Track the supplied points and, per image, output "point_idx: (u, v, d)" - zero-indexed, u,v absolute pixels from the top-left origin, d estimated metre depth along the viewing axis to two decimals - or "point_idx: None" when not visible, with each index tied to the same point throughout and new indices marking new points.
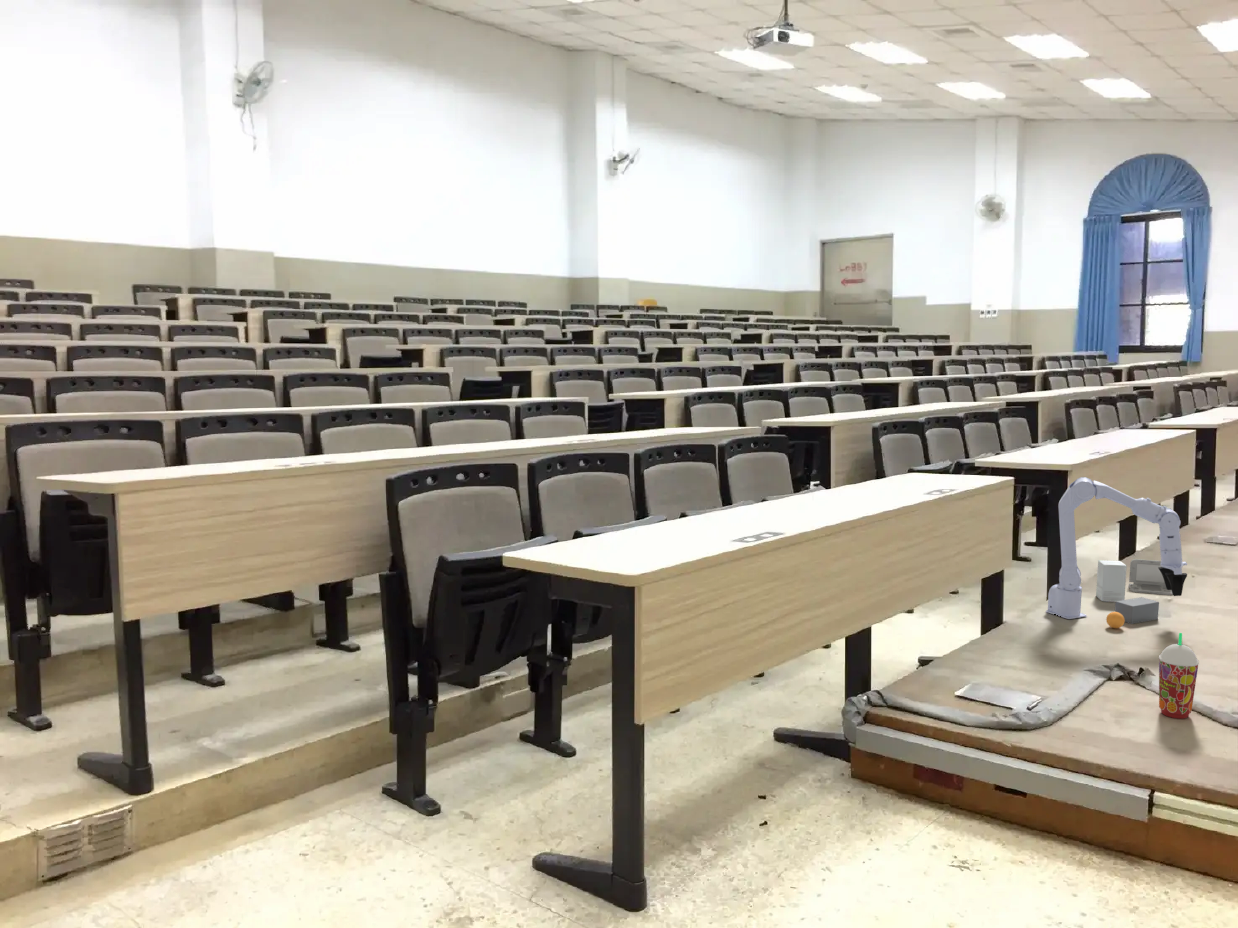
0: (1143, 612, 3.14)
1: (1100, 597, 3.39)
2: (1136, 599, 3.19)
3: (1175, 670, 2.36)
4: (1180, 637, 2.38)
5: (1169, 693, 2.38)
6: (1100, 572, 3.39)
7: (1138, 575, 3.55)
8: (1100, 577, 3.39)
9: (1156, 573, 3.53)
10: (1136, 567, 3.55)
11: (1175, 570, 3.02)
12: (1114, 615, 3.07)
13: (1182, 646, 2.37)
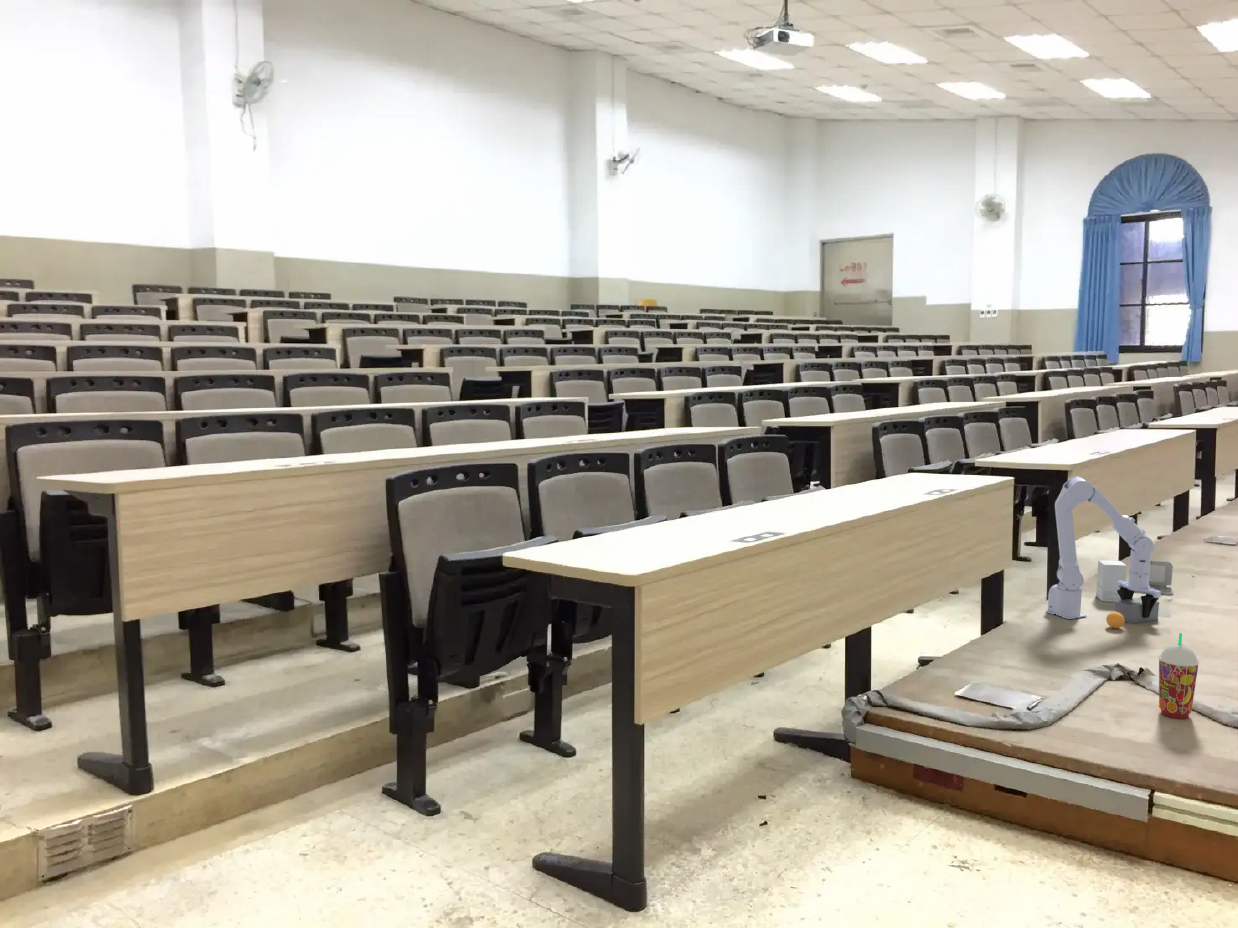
0: None
1: (1100, 597, 3.39)
2: (1136, 599, 3.19)
3: (1175, 670, 2.36)
4: (1180, 637, 2.38)
5: (1169, 693, 2.38)
6: (1100, 572, 3.39)
7: None
8: (1100, 577, 3.39)
9: (1156, 573, 3.53)
10: None
11: (1157, 593, 3.09)
12: (1114, 615, 3.07)
13: (1182, 646, 2.37)
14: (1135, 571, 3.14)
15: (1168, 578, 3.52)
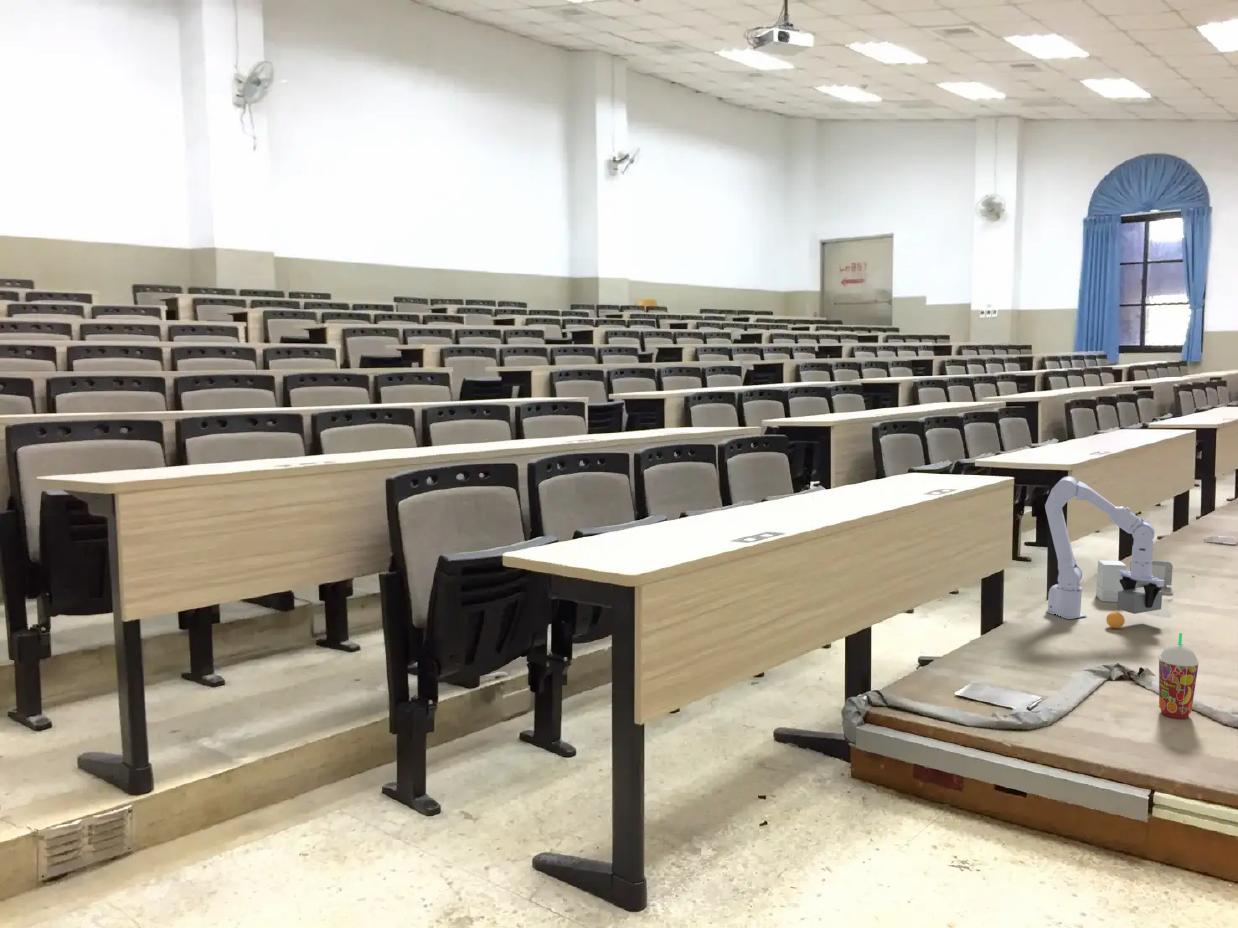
0: None
1: (1100, 597, 3.39)
2: (1139, 589, 3.13)
3: (1175, 670, 2.36)
4: (1180, 637, 2.38)
5: (1169, 693, 2.38)
6: (1100, 572, 3.39)
7: None
8: (1100, 577, 3.39)
9: (1156, 573, 3.53)
10: None
11: (1160, 582, 3.03)
12: (1114, 615, 3.07)
13: (1182, 646, 2.37)
14: (1135, 559, 3.08)
15: (1168, 578, 3.52)
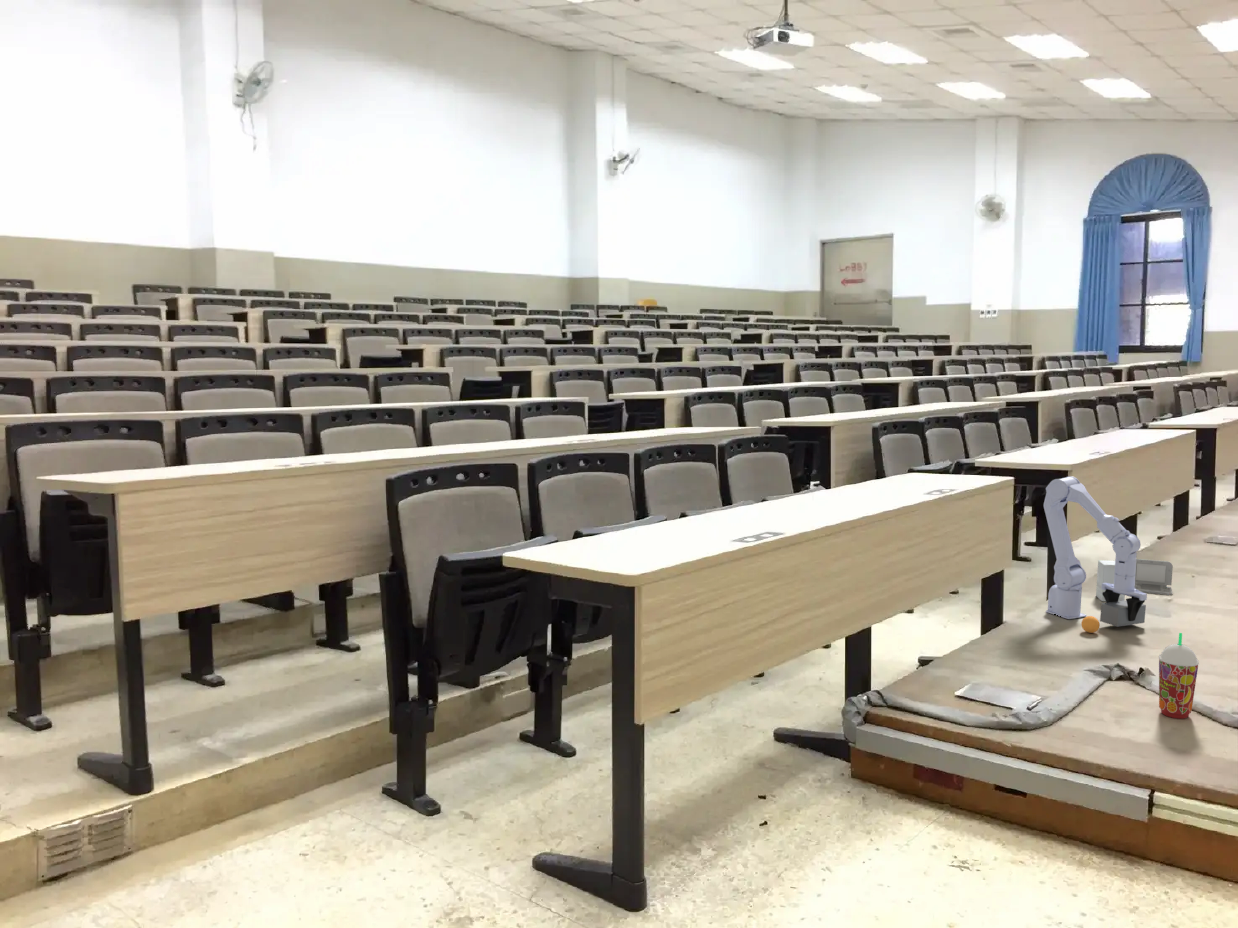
0: None
1: (1100, 597, 3.39)
2: (1122, 602, 3.11)
3: (1175, 670, 2.36)
4: (1180, 637, 2.38)
5: (1169, 693, 2.38)
6: (1100, 572, 3.39)
7: (1138, 575, 3.56)
8: (1100, 577, 3.39)
9: (1156, 573, 3.53)
10: (1136, 566, 3.55)
11: (1142, 596, 3.01)
12: None
13: (1182, 646, 2.37)
14: (1116, 572, 3.07)
15: (1168, 578, 3.52)
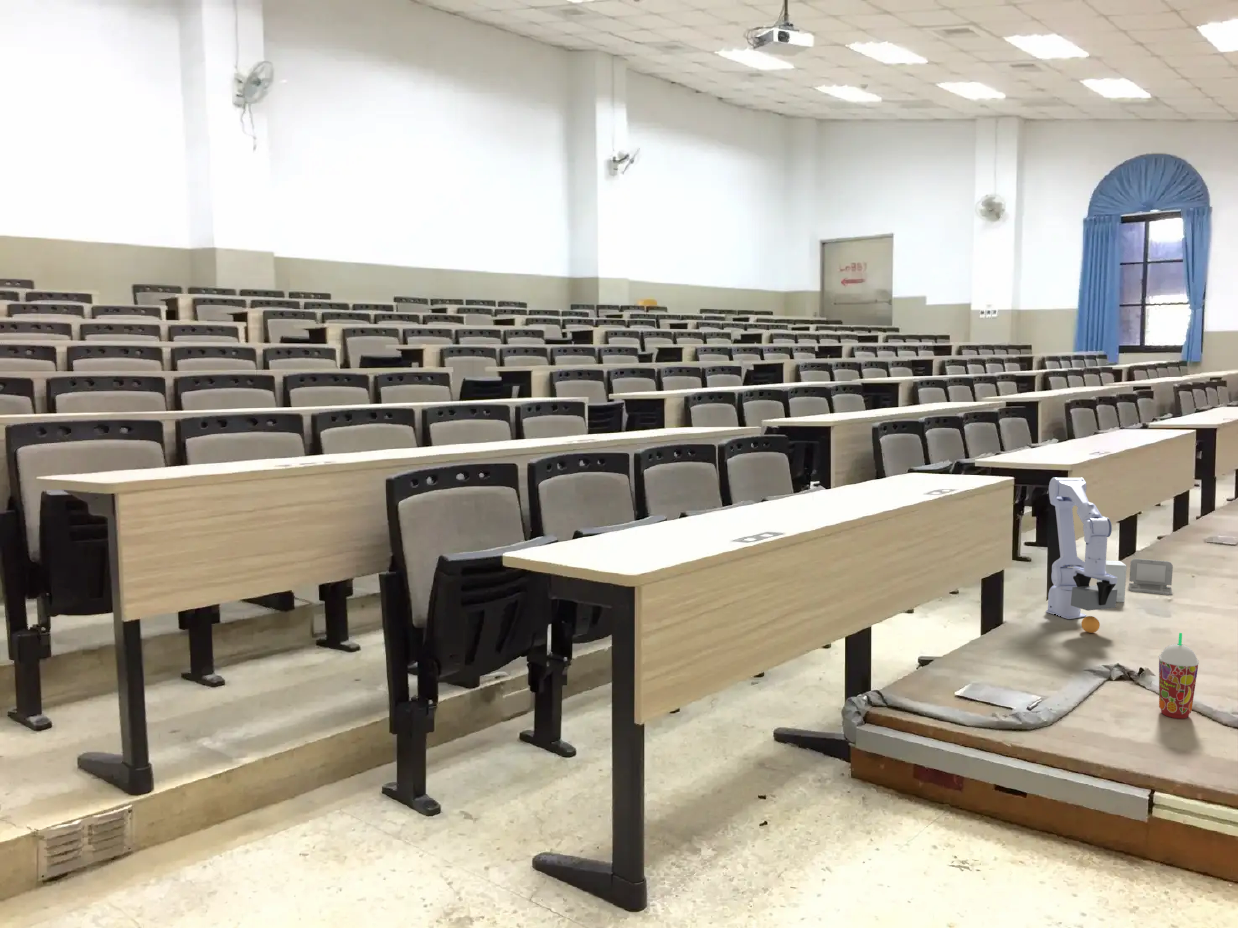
0: None
1: None
2: (1094, 586, 3.05)
3: (1175, 670, 2.36)
4: (1180, 637, 2.38)
5: (1169, 693, 2.38)
6: None
7: (1138, 574, 3.56)
8: None
9: (1156, 573, 3.53)
10: (1136, 566, 3.56)
11: (1113, 579, 2.95)
12: None
13: (1182, 646, 2.37)
14: None
15: (1168, 578, 3.52)
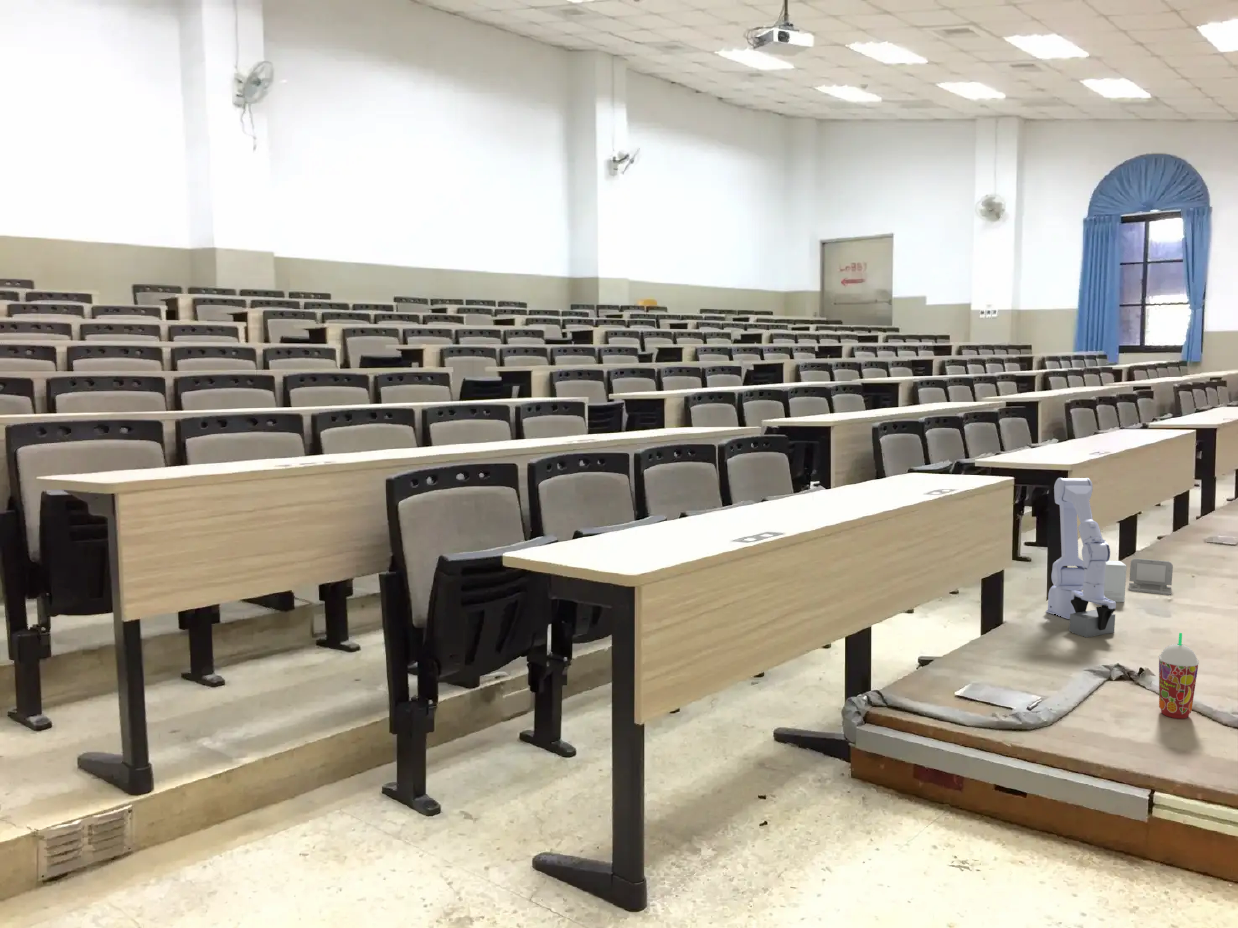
0: None
1: None
2: (1092, 611, 3.06)
3: (1175, 670, 2.36)
4: (1180, 637, 2.38)
5: (1169, 693, 2.38)
6: None
7: (1138, 574, 3.56)
8: None
9: (1156, 573, 3.53)
10: (1136, 566, 3.56)
11: (1111, 604, 2.96)
12: None
13: (1182, 646, 2.37)
14: None
15: (1168, 578, 3.52)
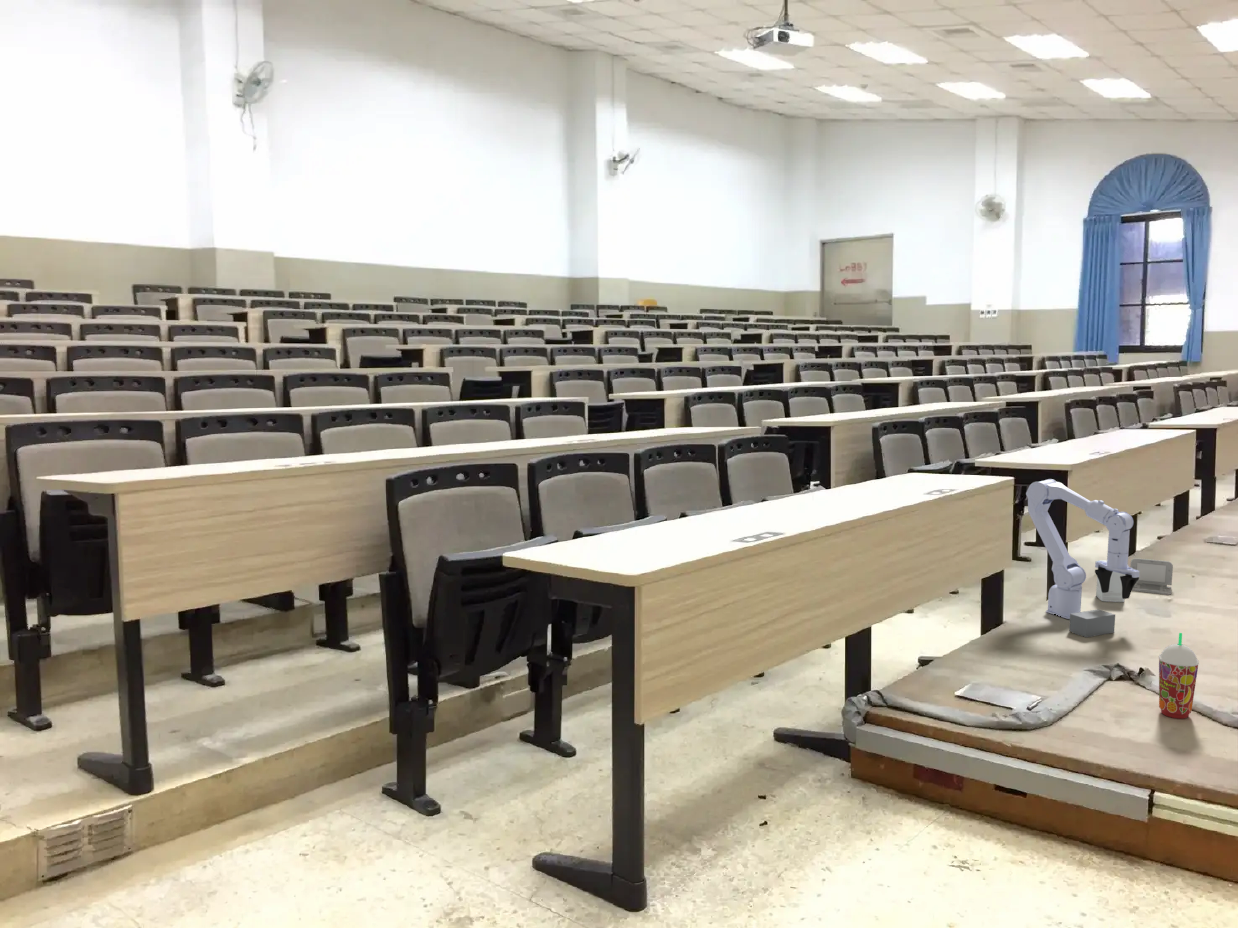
0: (1099, 625, 3.01)
1: (1100, 597, 3.39)
2: (1092, 611, 3.06)
3: (1175, 670, 2.36)
4: (1180, 637, 2.38)
5: (1169, 693, 2.38)
6: None
7: None
8: None
9: (1156, 573, 3.53)
10: (1136, 566, 3.56)
11: (1135, 573, 3.02)
12: None
13: (1182, 646, 2.37)
14: (1109, 549, 3.08)
15: (1168, 578, 3.52)
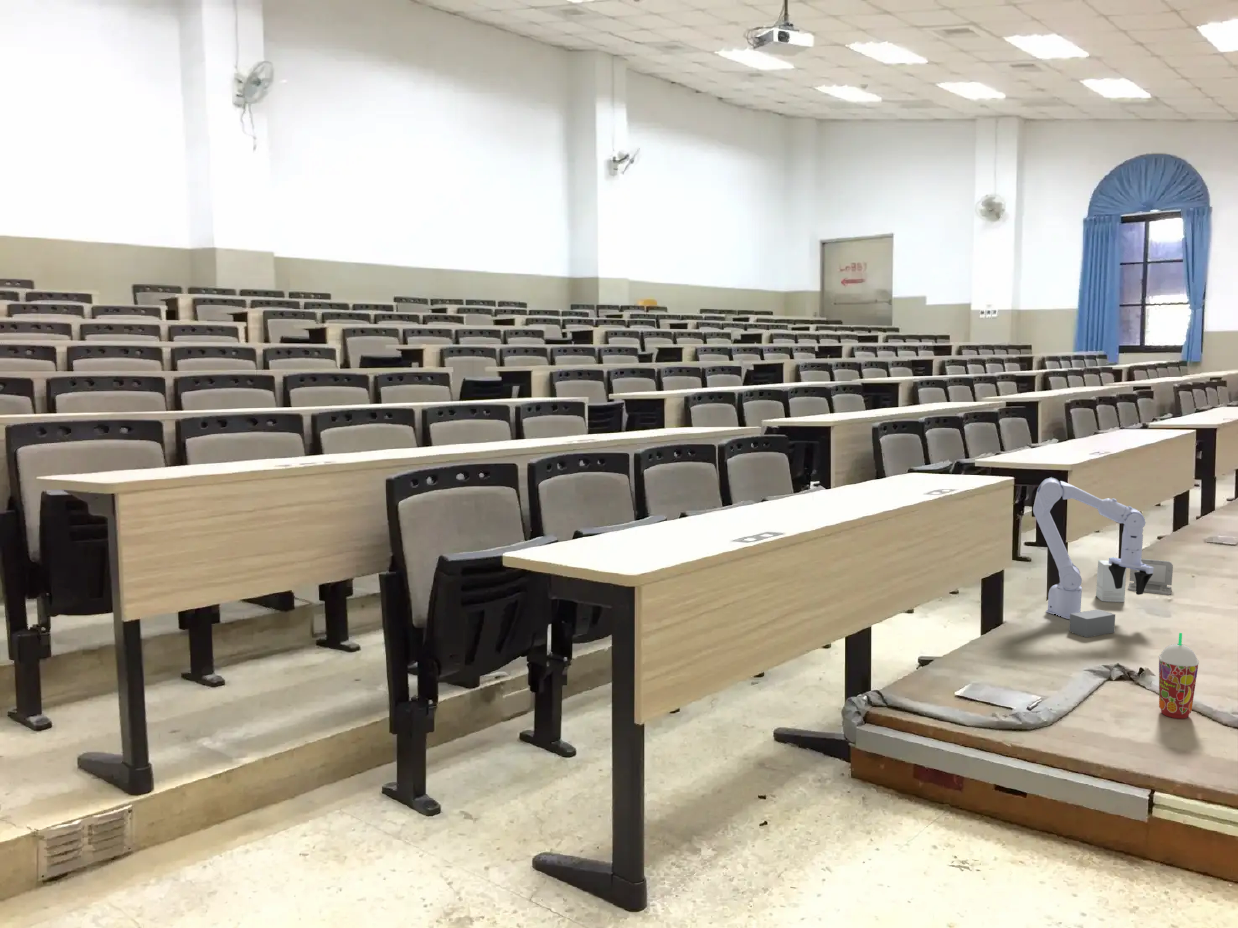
0: (1099, 625, 3.01)
1: (1100, 597, 3.39)
2: (1092, 611, 3.06)
3: (1175, 670, 2.36)
4: (1180, 637, 2.38)
5: (1169, 693, 2.38)
6: (1100, 572, 3.39)
7: None
8: (1100, 577, 3.39)
9: (1156, 573, 3.54)
10: None
11: (1149, 569, 3.07)
12: None
13: (1182, 646, 2.37)
14: (1126, 547, 3.11)
15: (1168, 578, 3.52)
